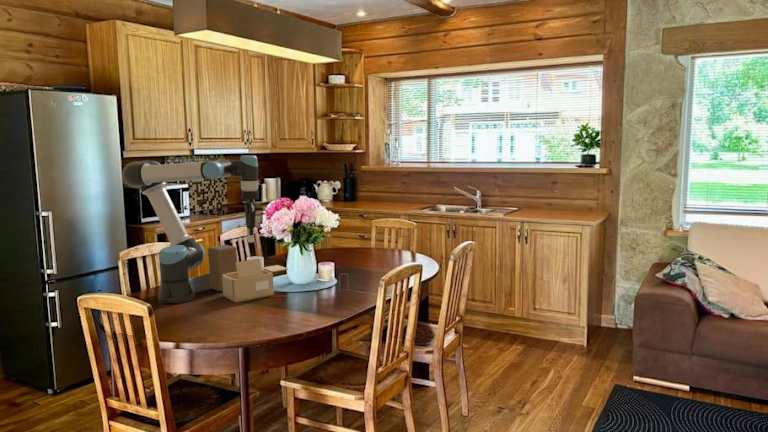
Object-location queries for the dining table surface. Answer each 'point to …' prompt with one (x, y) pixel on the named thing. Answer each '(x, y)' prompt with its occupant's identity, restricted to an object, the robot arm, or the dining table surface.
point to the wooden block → (221, 264)
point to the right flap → (275, 268)
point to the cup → (259, 259)
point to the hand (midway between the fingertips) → (250, 241)
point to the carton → (247, 286)
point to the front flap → (249, 268)
